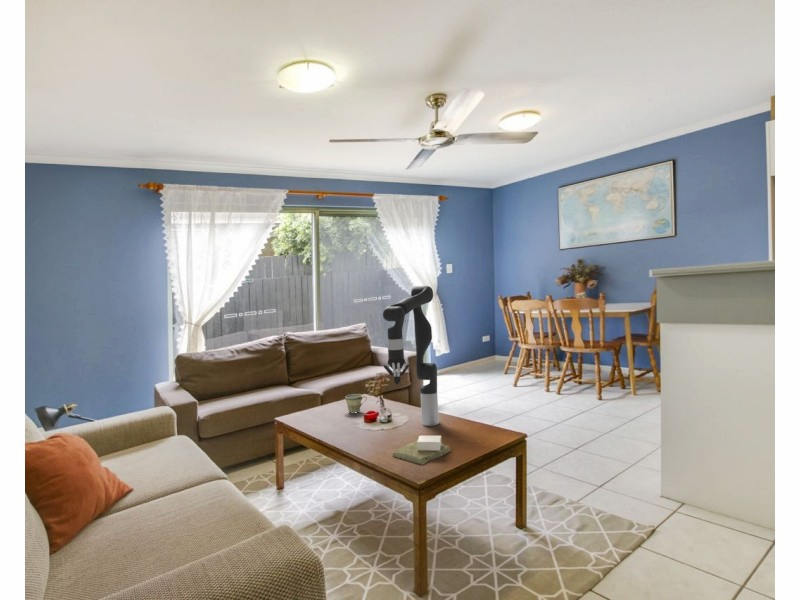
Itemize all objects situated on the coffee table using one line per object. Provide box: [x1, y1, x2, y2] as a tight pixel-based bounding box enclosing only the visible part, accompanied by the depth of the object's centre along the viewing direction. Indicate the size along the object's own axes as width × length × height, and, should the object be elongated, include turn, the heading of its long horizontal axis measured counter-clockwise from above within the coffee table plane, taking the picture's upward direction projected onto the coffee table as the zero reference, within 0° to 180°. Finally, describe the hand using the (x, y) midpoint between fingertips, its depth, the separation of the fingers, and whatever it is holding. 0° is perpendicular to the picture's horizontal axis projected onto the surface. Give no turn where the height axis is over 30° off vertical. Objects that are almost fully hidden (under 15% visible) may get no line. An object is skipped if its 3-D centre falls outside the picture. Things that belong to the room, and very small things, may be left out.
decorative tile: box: [392, 439, 451, 466], centre depth 199 cm, size 19×20×4 cm
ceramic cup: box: [345, 393, 368, 414], centre depth 270 cm, size 13×10×10 cm
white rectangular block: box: [416, 435, 443, 451], centre depth 198 cm, size 8×4×10 cm
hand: (397, 383), depth 212 cm, fingers closed
